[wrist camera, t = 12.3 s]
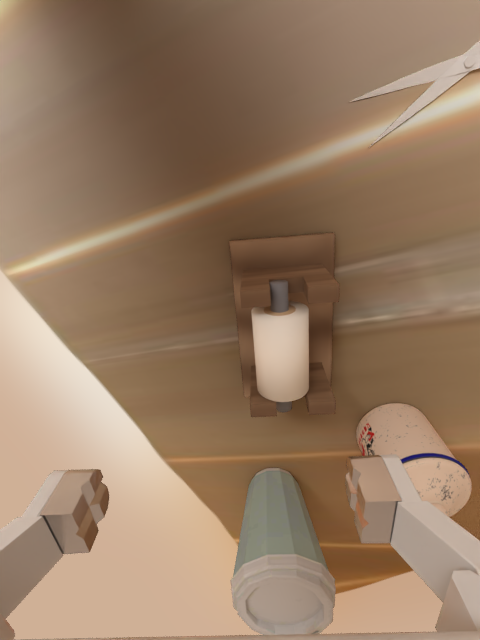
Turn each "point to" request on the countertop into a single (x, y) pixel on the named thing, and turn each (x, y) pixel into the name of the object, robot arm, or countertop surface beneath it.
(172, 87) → the countertop surface
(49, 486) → the robot arm
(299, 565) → the disposable coffee cup
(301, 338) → the paper roll
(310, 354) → the roll holder
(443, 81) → the scissors
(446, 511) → the teacup with lid
